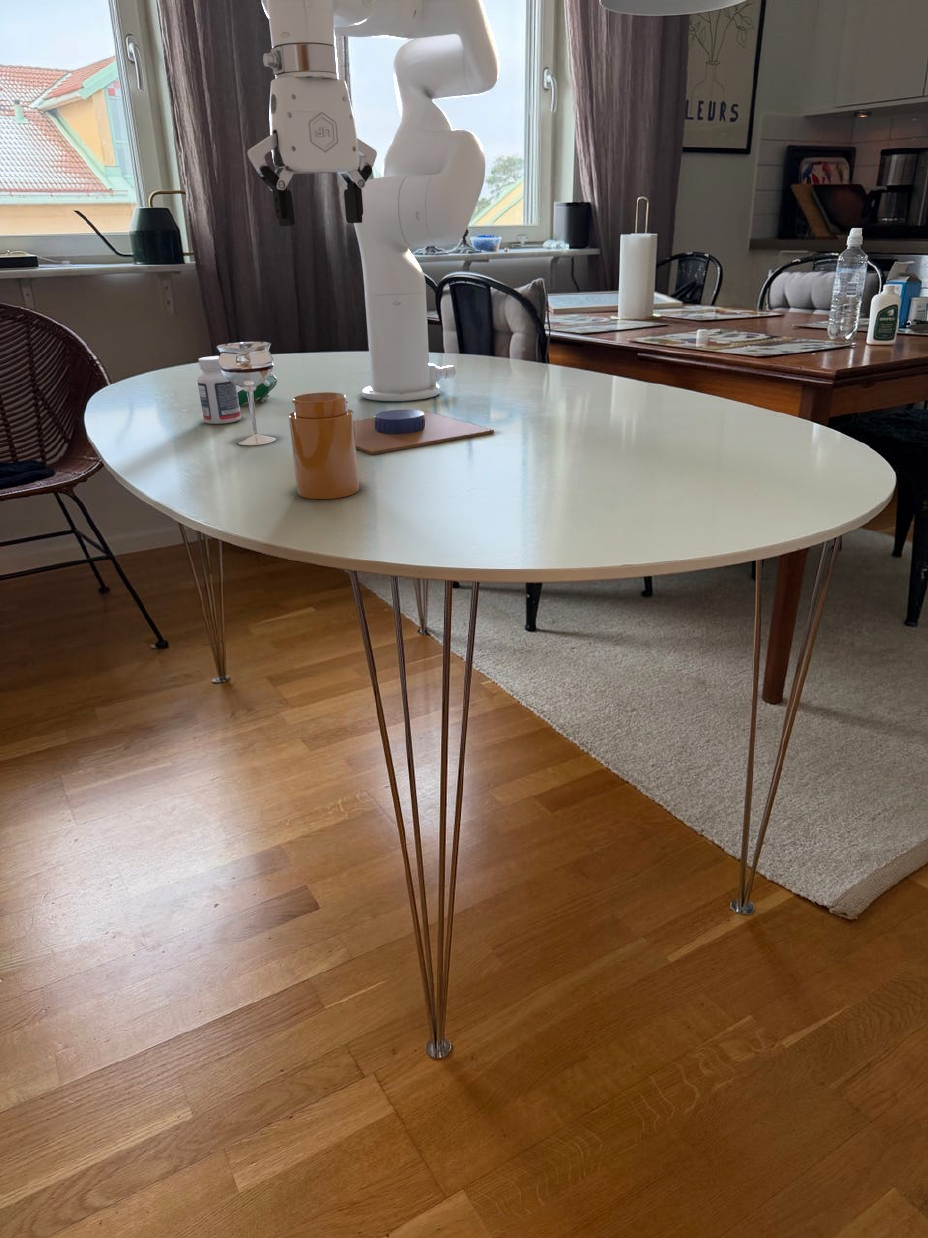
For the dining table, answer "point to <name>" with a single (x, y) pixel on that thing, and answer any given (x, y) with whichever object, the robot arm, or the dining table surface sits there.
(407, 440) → the mat
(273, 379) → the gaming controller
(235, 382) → the wineglass
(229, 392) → the pill bottle
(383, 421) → the lid
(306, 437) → the jar
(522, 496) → the dining table surface
